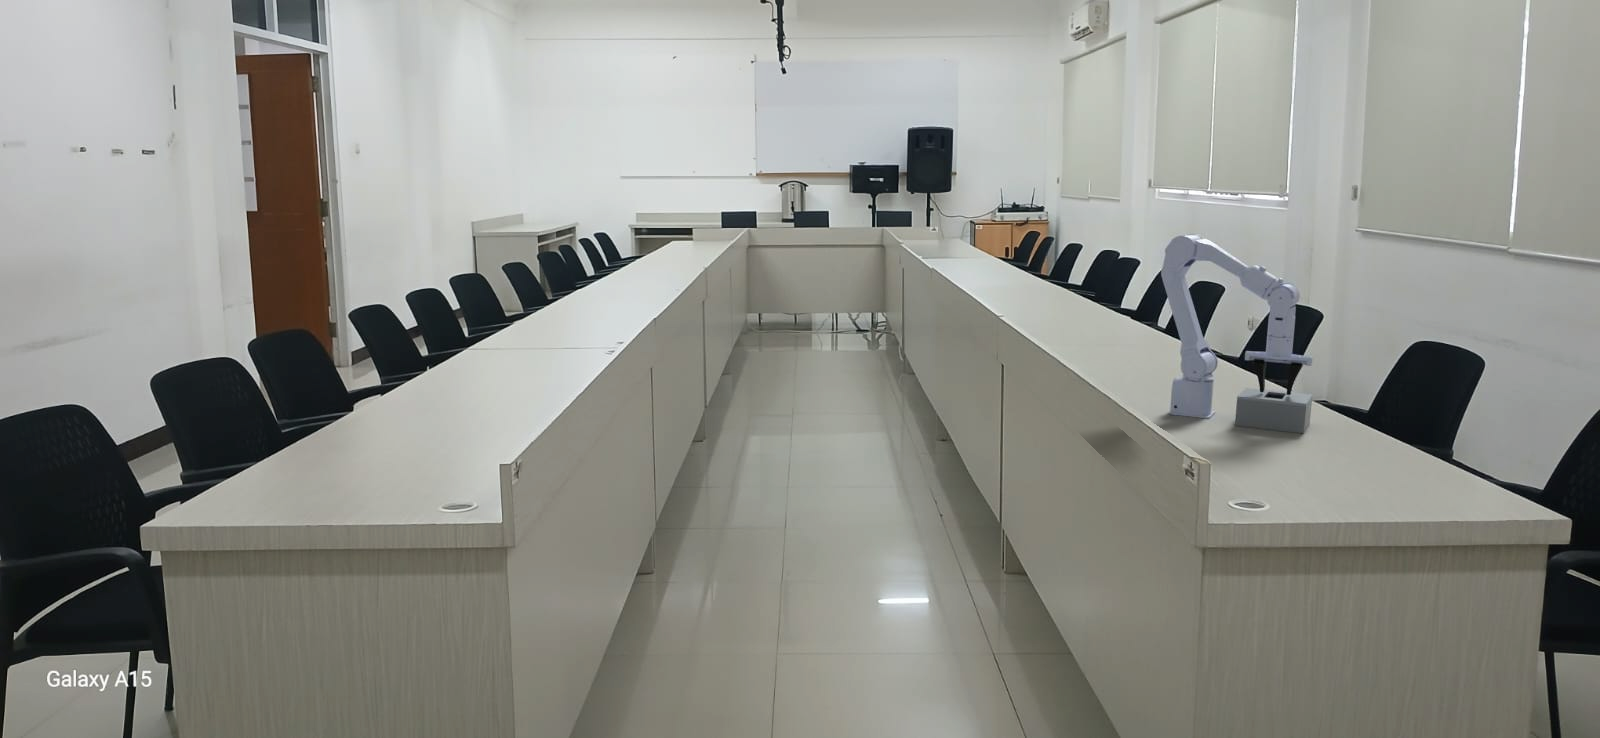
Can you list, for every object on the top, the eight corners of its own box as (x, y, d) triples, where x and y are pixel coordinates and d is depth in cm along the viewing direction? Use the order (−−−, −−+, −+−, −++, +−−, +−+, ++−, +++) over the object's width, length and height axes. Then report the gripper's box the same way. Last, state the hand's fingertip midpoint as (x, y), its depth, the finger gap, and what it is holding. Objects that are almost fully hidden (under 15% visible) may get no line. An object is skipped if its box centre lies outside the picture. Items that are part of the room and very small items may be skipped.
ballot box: (1234, 425, 273) (1237, 396, 271) (1243, 415, 283) (1245, 387, 282) (1303, 433, 265) (1306, 403, 264) (1309, 423, 276) (1312, 394, 274)
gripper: (1244, 335, 270) (1240, 392, 273) (1312, 340, 263) (1306, 399, 266) (1249, 331, 276) (1244, 387, 279) (1315, 336, 269) (1310, 394, 272)
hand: (1275, 392), depth 273 cm, fingers open, 5 cm apart
